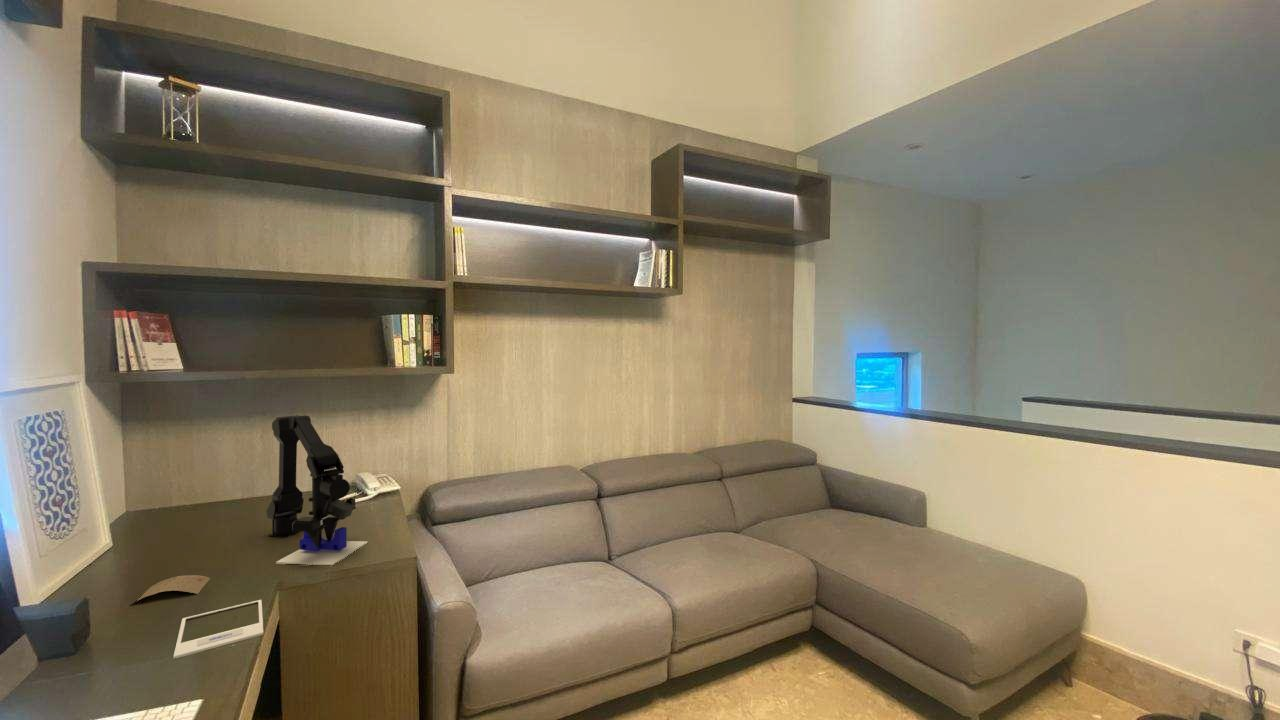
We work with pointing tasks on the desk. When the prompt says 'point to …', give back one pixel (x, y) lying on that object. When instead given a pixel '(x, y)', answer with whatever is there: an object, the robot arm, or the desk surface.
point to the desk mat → (321, 555)
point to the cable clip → (326, 541)
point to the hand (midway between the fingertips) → (323, 543)
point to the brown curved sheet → (178, 585)
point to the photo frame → (218, 635)
